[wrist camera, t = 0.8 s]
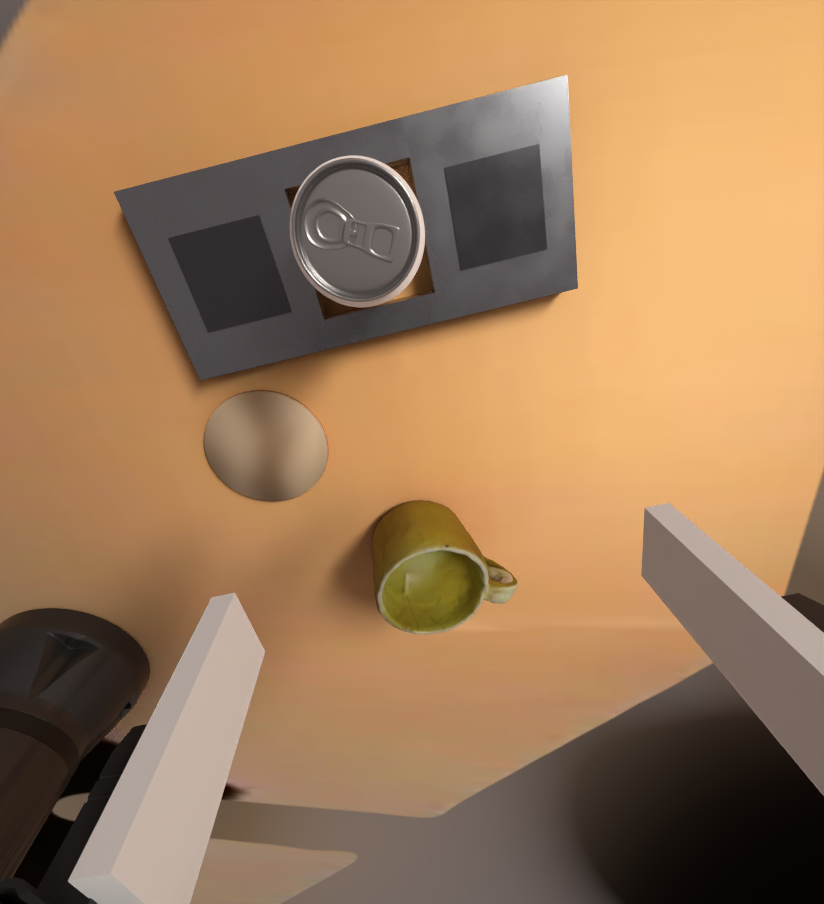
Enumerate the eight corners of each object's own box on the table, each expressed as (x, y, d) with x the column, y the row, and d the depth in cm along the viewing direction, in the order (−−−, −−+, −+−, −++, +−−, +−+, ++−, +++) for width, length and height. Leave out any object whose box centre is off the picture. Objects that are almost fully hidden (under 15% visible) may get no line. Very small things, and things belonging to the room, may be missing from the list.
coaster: (234, 509, 37) (233, 512, 37) (184, 406, 33) (182, 408, 32) (342, 484, 37) (342, 486, 36) (306, 377, 33) (305, 378, 32)
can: (326, 178, 27) (292, 121, 16) (421, 207, 28) (447, 173, 17) (311, 280, 30) (272, 291, 19) (398, 304, 31) (409, 326, 20)
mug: (338, 579, 39) (368, 646, 30) (377, 478, 38) (420, 515, 29) (445, 600, 44) (498, 662, 35) (480, 511, 43) (544, 551, 34)
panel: (210, 373, 32) (199, 380, 30) (131, 196, 27) (112, 191, 25) (566, 286, 31) (578, 288, 29) (554, 87, 26) (568, 74, 24)
